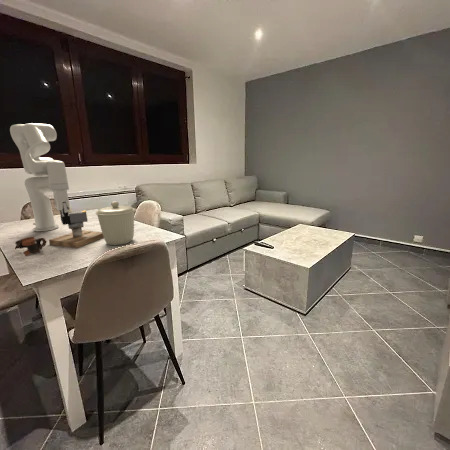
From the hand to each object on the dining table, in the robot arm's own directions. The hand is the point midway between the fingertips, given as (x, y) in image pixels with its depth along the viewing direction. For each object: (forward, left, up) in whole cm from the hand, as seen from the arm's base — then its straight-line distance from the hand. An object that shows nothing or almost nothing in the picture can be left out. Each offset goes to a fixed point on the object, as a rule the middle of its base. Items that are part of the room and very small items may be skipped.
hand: (66, 223), depth 126 cm
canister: (+26, +7, -10) cm, 28 cm away
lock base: (+3, +3, -10) cm, 11 cm away
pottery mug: (-5, -16, -11) cm, 19 cm away
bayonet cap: (+3, +3, -3) cm, 5 cm away
